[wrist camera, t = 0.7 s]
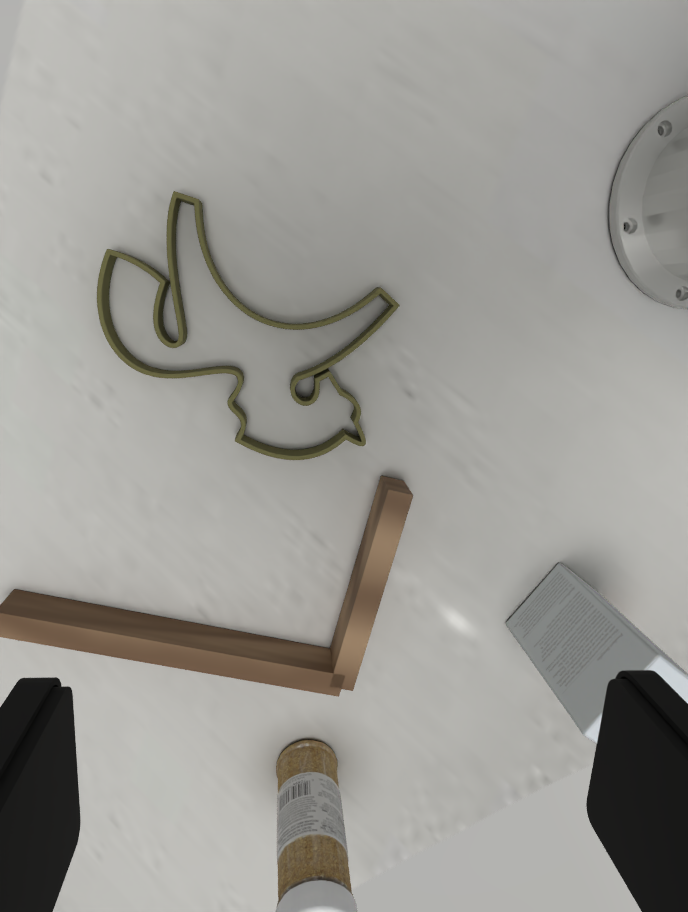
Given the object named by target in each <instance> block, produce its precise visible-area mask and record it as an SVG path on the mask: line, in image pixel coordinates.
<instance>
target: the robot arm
mask: <svg viewBox="0 0 688 912" xmlns="http://www.w3.org/2000/svg"><path fill="white" fill-rule="evenodd" d="M658 129H659V133H658ZM609 224H610V231H611V237H612V242H613V247H614V249H615V252H616V254H617V257H618V260H619V262H620V264H621V266H622V267H623V269H624V271H625V272H626V274H627V275H628V277H629V278H630V280H631V281H632V282H633V283H634V284H635V285H636V286H637V287H638V288H639V289H640V290H641V291H642V292H644V293H645V294H647V295H648V296H650V297H651V298H653V299H654V300H656V301H658V302H660V303H663V304H666V305H669V306H671V307H675V308H683V309H688V96H685V97H683V98H681V99H679V100H677V101H676V102H674V103H672V104H671V105H669V106H668V107H666V108H664V109H663V110H661V111H660V112H659V113H658V114H657V115H655V116H654V117H653V118H652V119H651V120H650V121H649V122H648V123H647V124H646V125H644V127H643V128H642V129H641V131H640V132H639V133H638V134H637V136H636V137H635V138H634V140H633V141H632V142H631V144H630V146H629V147H628V149H627V151H626V153H625V155H624V157H623V158H622V160H621V162H620V165H619V168H618V171H617V174H616V176H615V179H614V182H613V187H612V193H611V199H610V205H609ZM624 224H625V225H626V229H625V231H624V229H623V226H624ZM676 291H677V295H676ZM587 813H588V817H589V820H590V823H591V825H592V827H593V829H594V830H595V832H596V834H597V836H598V837H599V839H600V841H601V842H602V844H603V846H604V848H605V849H606V851H607V853H608V854H609V856H610V858H611V860H612V861H613V863H614V865H615V866H616V868H617V870H618V872H619V873H620V875H621V877H622V878H623V880H624V882H625V884H626V885H627V887H628V889H629V890H630V892H631V894H632V896H633V897H634V899H635V901H636V902H637V904H638V906H639V908H640V909H641V911H642V912H688V703H687V702H686V701H685V700H684V699H683V698H682V697H681V696H680V695H679V694H678V693H677V692H676V691H675V690H674V689H673V688H672V687H671V686H670V685H669V684H668V683H667V682H666V681H665V680H664V679H663V678H662V677H661V676H660V675H659V674H658V673H656V672H655V671H652V670H622V671H620V672H619V673H618V674H617V675H616V678H615V679H612V680H610V681H609V683H608V686H607V690H606V696H605V701H604V707H603V713H602V718H601V724H600V729H599V735H598V740H597V746H596V752H595V757H594V763H593V768H592V774H591V780H590V785H589V791H588V796H587ZM79 831H80V806H79V790H78V774H77V759H76V743H75V727H74V711H73V696H72V690H71V688H70V687H61V682H60V680H59V679H58V678H22V679H20V680H19V681H18V682H17V683H16V685H15V686H14V688H13V689H12V691H11V692H10V694H9V695H8V697H7V698H6V700H5V701H4V703H3V704H2V706H1V707H0V912H53V909H54V906H55V903H56V901H57V898H58V895H59V892H60V890H61V887H62V884H63V881H64V879H65V876H66V873H67V870H68V868H69V865H70V862H71V859H72V857H73V854H74V851H75V848H76V845H77V842H78V837H79Z"/></svg>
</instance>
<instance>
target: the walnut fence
mask: <svg viewBox="0 0 688 912" xmlns="http://www.w3.org/2000/svg"><path fill="white" fill-rule="evenodd" d="M412 498H413V494H412V493H411V491H410V490H409V488H408V486H407V485H406V483H405V482H404V481H402V480H397V479H393V478H389V477H385V476H381V477H380V480H379V484H378V487H377V490H376V494H375V497H374V501H373V504H372V507H371V511H370V514H369V518H368V521H367V524H366V528H365V531H364V535H363V538H362V541H361V545H360V548H359V552H358V555H357V558H356V562H355V565H354V569H353V572H352V575H351V579H350V582H349V585H348V589H347V592H346V596H345V599H344V602H343V606H342V609H341V613H340V616H339V619H338V623H337V626H336V630H335V633H334V636H333V640H332V643H331V647H330V648H325V647H319V646H314V645H309V644H303V643H298V642H293V641H287V640H282V639H277V638H271V637H266V636H261V635H256V634H250V633H245V632H240V631H234V630H229V629H224V628H218V627H213V626H208V625H202V624H197V623H192V622H186V621H181V620H176V619H171V618H165V617H160V616H155V615H149V614H144V613H139V612H133V611H128V610H123V609H117V608H112V607H107V606H101V605H96V604H91V603H86V602H80V601H75V600H70V599H64V598H59V597H54V596H48V595H43V594H38V593H32V592H27V591H22V590H16V589H14V590H13V591H12V592H11V593H10V595H9V596H8V597H7V598H6V599H5V600H4V601H3V603H2V604H1V605H0V637H3V638H9V639H15V640H20V641H26V642H32V643H38V644H43V645H49V646H55V647H60V648H66V649H72V650H77V651H83V652H89V653H94V654H100V655H106V656H111V657H117V658H123V659H128V660H134V661H140V662H145V663H151V664H157V665H162V666H168V667H174V668H180V669H185V670H191V671H197V672H202V673H208V674H214V675H219V676H225V677H231V678H236V679H242V680H248V681H253V682H259V683H265V684H270V685H276V686H282V687H287V688H293V689H299V690H304V691H310V692H316V693H322V694H327V695H333V696H339V694H340V691H341V689H345V690H351V691H353V689H354V685H355V682H356V679H357V676H358V672H359V669H360V666H361V663H362V660H363V656H364V653H365V650H366V647H367V643H368V640H369V637H370V634H371V630H372V627H373V624H374V621H375V617H376V614H377V611H378V608H379V605H380V601H381V598H382V595H383V592H384V588H385V585H386V582H387V579H388V575H389V572H390V569H391V566H392V563H393V559H394V556H395V553H396V550H397V546H398V543H399V540H400V537H401V533H402V530H403V527H404V524H405V520H406V517H407V514H408V511H409V508H410V504H411V501H412Z"/></svg>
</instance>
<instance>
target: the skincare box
mask: <svg viewBox="0 0 688 912" xmlns="http://www.w3.org/2000/svg"><path fill="white" fill-rule="evenodd" d="M506 625H507V627H508V628H509V630H510V631H511V633H512V634H513V636H514V637H515V638H516V640H517V641H518V643H519V644H520V645H521V647H522V648H523V650H524V651H525V652H526V654H527V655H528V657H529V658H530V660H531V661H532V663H533V664H534V666H535V667H536V668H537V670H538V671H539V673H540V674H541V675H542V677H543V678H544V680H545V681H546V683H547V684H548V685H549V687H550V688H551V690H552V691H553V692H554V694H555V695H556V697H557V698H558V700H559V701H560V702H561V704H562V705H563V706H564V708H565V709H566V711H567V712H568V713H569V715H570V716H571V718H572V719H573V721H574V722H575V724H576V725H577V727H578V728H579V730H580V731H581V733H582V734H583V735H584V736H585V737H587V738H588V739H590V740H591V741H593V742H594V743H596V744H597V740H598V735H599V729H600V724H601V718H602V713H603V707H604V701H605V696H606V690H607V686H608V683H609V681H610V680H612V679H615V678H616V675H617V674H618V673H619V672H620V671H622V670H652V671H655V672H656V673H658V674H659V675H660V676H661V677H662V678H663V679H664V680H665V681H666V682H667V683H668V684H669V685H670V686H671V687H672V688H673V689H674V690H675V691H676V692H677V693H678V694H679V695H680V696H681V697H682V698H683V699H684V700H685V701H686V702H687V703H688V674H687V673H686V672H685V671H684V670H683V669H682V668H681V667H680V666H679V665H677V664H676V663H675V662H674V661H673V660H672V659H671V658H670V657H669V656H668V655H666V654H665V653H664V652H663V651H662V650H661V649H660V648H659V647H658V646H656V645H655V644H654V643H653V642H652V641H651V640H650V639H649V638H648V637H647V636H645V635H644V634H643V633H642V632H641V631H640V630H639V629H638V628H637V627H636V626H635V625H633V624H632V623H631V622H630V621H629V620H628V619H627V618H626V617H625V616H624V615H623V614H621V613H620V612H619V611H618V610H617V609H616V608H615V607H614V606H613V605H612V604H611V603H609V602H608V601H607V600H606V599H605V598H604V597H603V596H602V595H601V594H600V593H598V592H597V591H596V590H595V589H593V588H592V587H591V586H590V585H588V584H587V583H586V582H585V581H583V580H582V579H581V578H580V577H578V576H577V575H576V574H575V573H573V572H572V571H571V570H570V569H568V568H567V567H566V566H564V565H563V564H561V563H558V564H557V565H556V567H555V568H554V569H553V570H552V571H551V572H550V574H549V575H548V576H547V577H546V578H545V579H544V580H543V582H542V583H541V584H540V585H539V586H538V587H537V588H536V589H535V591H534V592H533V593H532V594H531V595H530V596H529V597H528V599H527V600H526V601H525V602H524V603H523V604H522V605H521V607H520V608H519V609H518V610H517V611H516V612H515V613H514V614H513V616H512V617H511V618H510V619H509V620H508V621H507V622H506Z"/></svg>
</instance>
